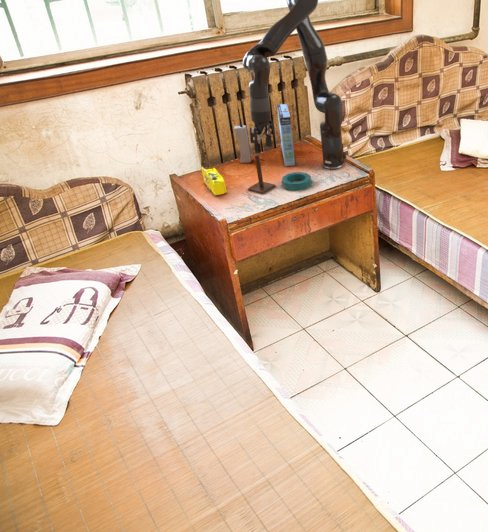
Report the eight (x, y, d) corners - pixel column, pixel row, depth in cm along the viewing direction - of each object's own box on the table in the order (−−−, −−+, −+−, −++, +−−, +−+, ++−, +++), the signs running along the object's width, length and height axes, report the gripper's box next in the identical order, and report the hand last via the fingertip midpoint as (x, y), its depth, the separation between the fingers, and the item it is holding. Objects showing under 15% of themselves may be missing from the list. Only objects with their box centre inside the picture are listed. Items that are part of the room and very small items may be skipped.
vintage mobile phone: (241, 160, 257) (231, 107, 244) (251, 159, 258) (243, 107, 244) (240, 163, 254) (230, 110, 241) (250, 162, 255) (242, 109, 241)
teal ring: (294, 176, 240) (293, 170, 239) (316, 181, 236) (315, 175, 234) (277, 187, 232) (276, 180, 230) (300, 192, 227) (299, 186, 225)
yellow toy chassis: (203, 184, 236) (199, 165, 231) (216, 180, 238) (212, 163, 234) (214, 197, 224) (210, 178, 220) (227, 194, 227) (224, 175, 222)
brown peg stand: (260, 183, 235) (255, 150, 227) (275, 186, 232) (270, 153, 224) (248, 190, 230) (242, 156, 221) (263, 194, 226) (257, 160, 218)
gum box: (282, 151, 266) (276, 104, 253) (292, 150, 267) (287, 103, 254) (285, 166, 250) (278, 117, 237) (296, 165, 251) (290, 116, 238)
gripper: (259, 114, 203) (263, 156, 211) (277, 105, 215) (280, 145, 223) (241, 111, 205) (246, 153, 213) (261, 103, 217) (264, 143, 225)
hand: (263, 149), depth 218 cm, fingers open, 8 cm apart
